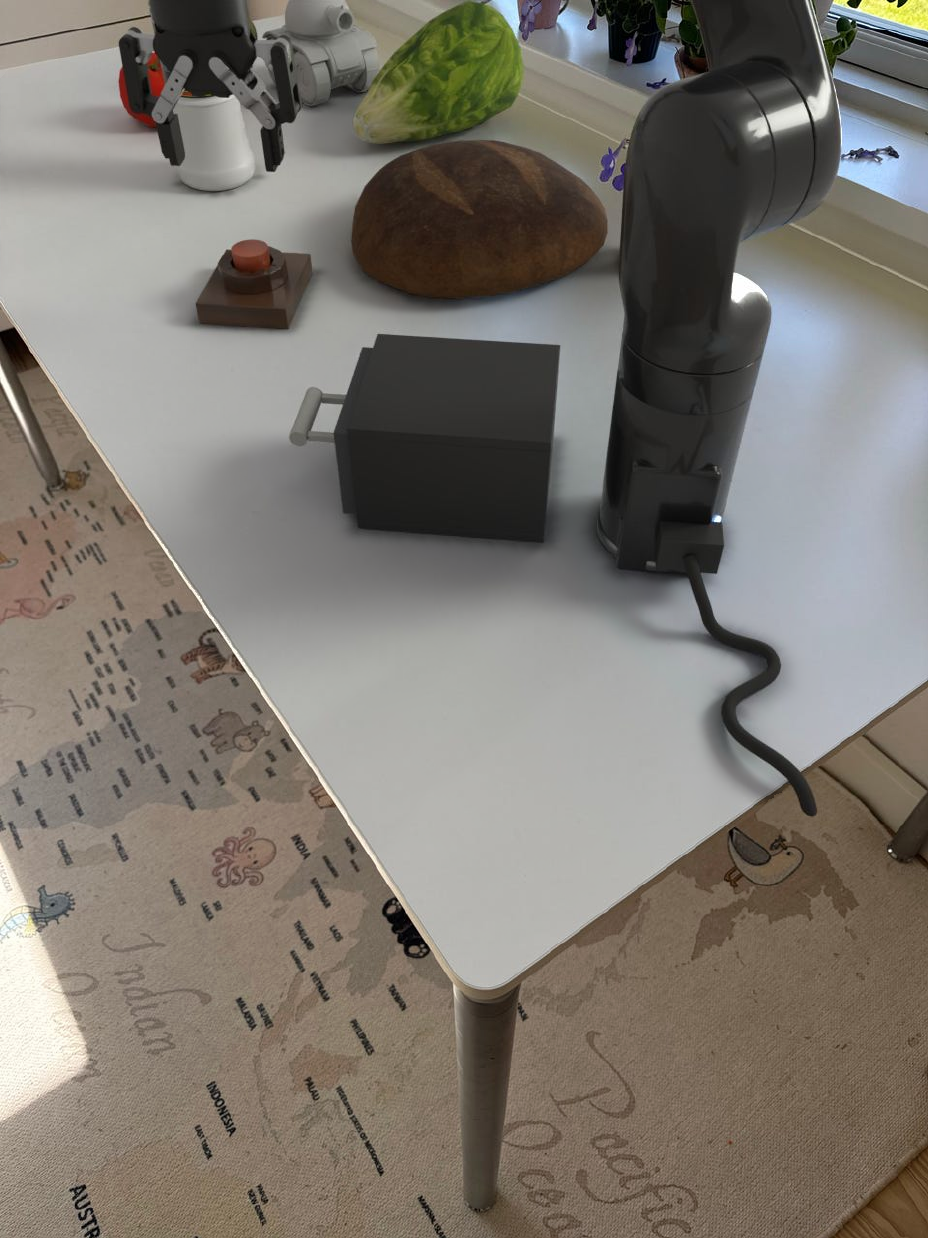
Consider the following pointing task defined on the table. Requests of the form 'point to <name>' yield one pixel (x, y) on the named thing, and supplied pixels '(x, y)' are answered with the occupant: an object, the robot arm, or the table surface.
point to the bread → (475, 220)
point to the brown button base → (255, 292)
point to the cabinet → (454, 437)
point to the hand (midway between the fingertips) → (225, 165)
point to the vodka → (212, 140)
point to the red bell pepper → (156, 88)
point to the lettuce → (444, 78)
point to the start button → (250, 255)
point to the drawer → (339, 437)
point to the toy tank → (327, 48)
